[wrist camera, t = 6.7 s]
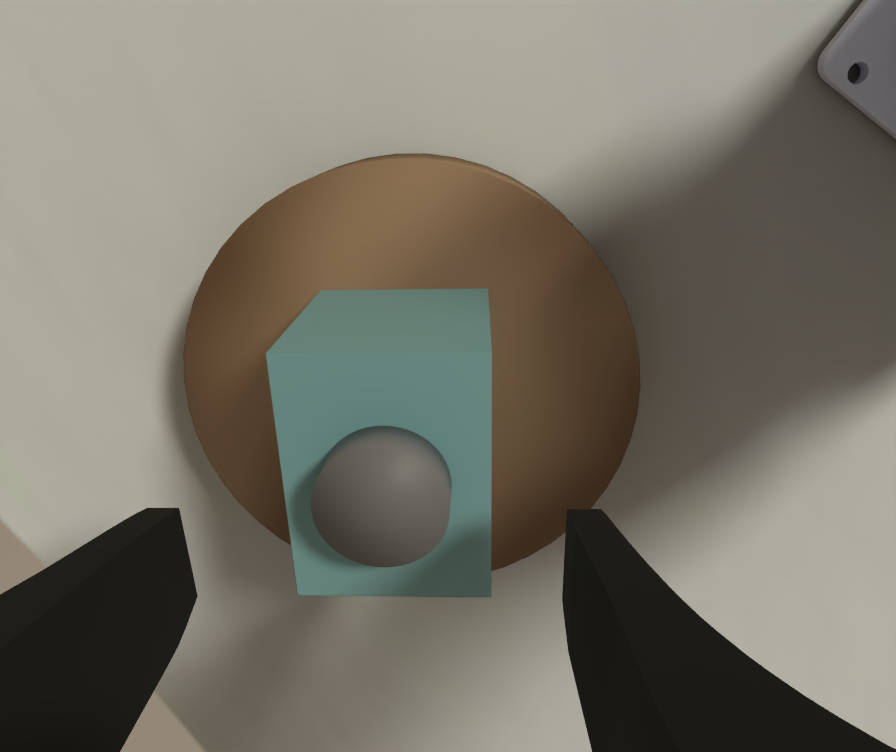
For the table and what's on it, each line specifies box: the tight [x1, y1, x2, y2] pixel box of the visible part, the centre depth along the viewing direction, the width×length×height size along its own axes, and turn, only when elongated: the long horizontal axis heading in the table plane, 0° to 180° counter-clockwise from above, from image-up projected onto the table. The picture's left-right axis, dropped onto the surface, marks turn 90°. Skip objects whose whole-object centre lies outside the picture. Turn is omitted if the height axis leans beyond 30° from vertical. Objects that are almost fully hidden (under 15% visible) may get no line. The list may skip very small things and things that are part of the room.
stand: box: [184, 154, 640, 571], centre depth 20 cm, size 13×13×2 cm
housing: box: [266, 288, 492, 597], centre depth 16 cm, size 4×6×6 cm
